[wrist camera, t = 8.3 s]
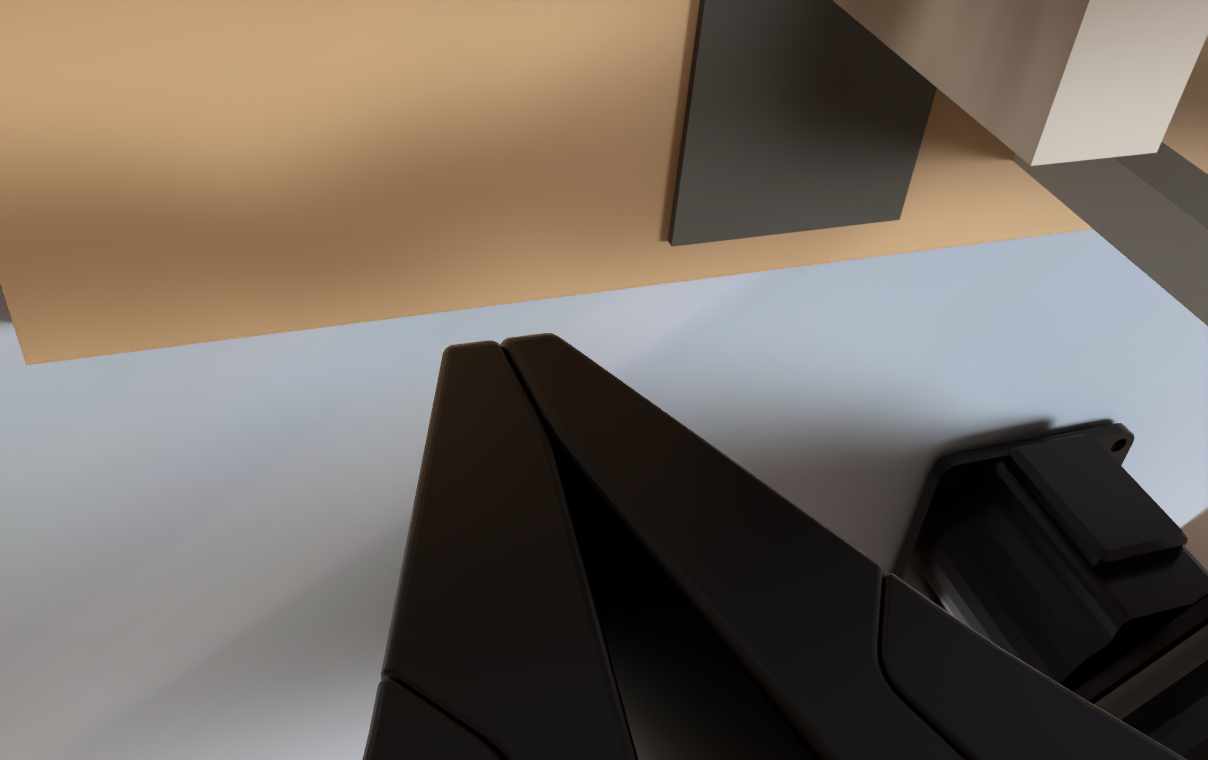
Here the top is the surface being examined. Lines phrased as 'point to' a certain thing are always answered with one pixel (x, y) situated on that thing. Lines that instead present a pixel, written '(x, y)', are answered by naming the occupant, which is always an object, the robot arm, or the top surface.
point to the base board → (464, 158)
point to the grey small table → (1143, 214)
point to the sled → (1051, 66)
